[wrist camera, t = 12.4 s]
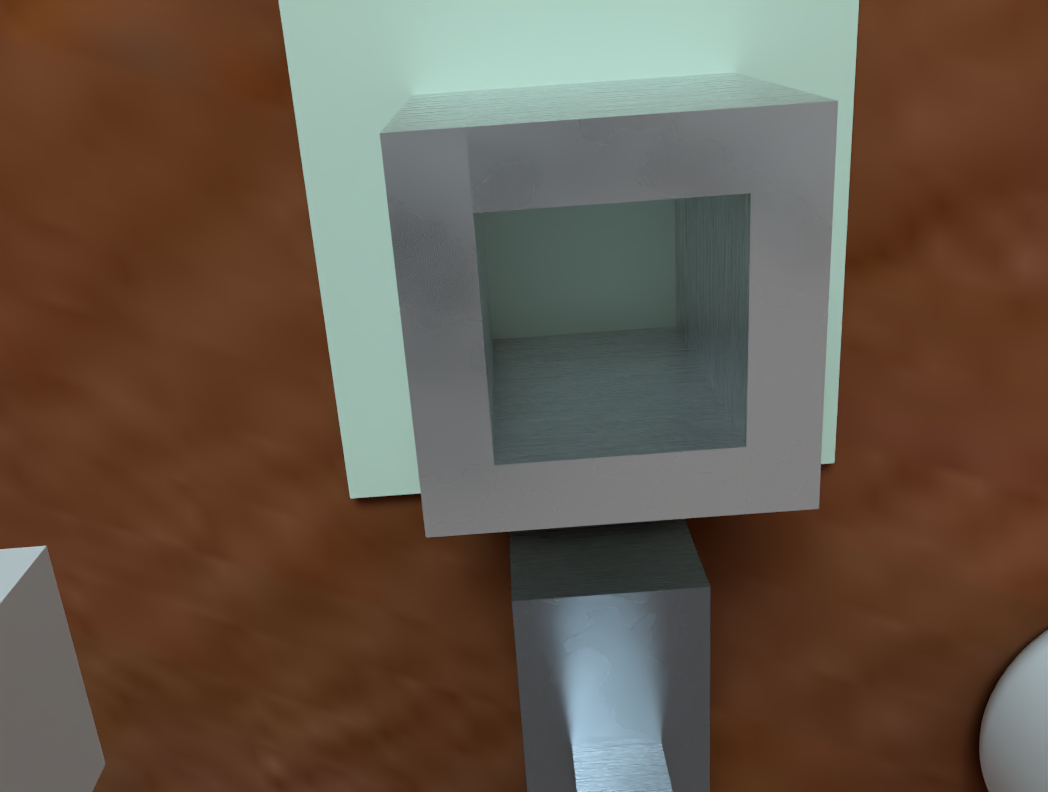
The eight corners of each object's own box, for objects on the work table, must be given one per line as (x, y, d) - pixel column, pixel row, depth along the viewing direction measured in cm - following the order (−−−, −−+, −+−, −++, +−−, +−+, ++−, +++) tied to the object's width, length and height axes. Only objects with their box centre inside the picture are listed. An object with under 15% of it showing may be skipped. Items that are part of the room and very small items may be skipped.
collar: (442, 394, 28) (426, 537, 20) (412, 95, 25) (379, 132, 17) (730, 374, 28) (818, 508, 20) (734, 72, 25) (838, 100, 17)
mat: (352, 489, 29) (350, 498, 29) (279, -28, 24) (274, -29, 24) (828, 454, 29) (834, 463, 29) (854, -68, 24) (862, -70, 24)
